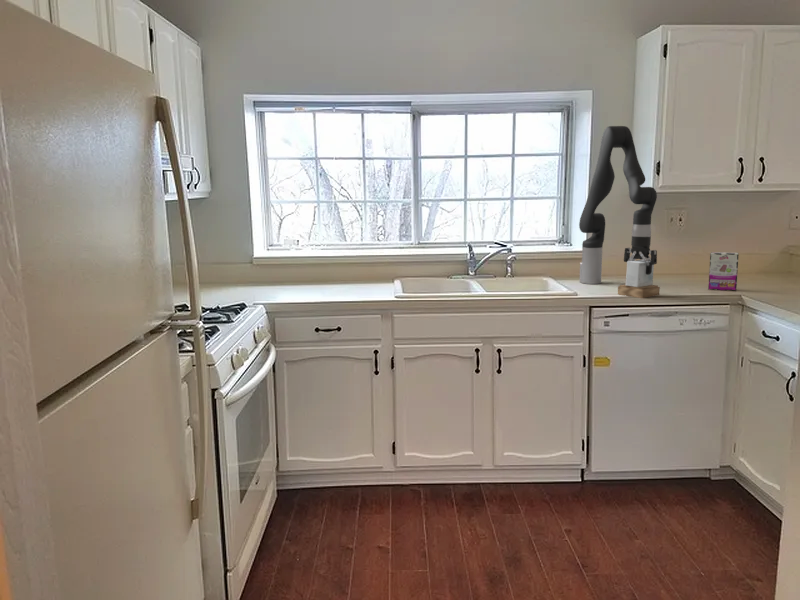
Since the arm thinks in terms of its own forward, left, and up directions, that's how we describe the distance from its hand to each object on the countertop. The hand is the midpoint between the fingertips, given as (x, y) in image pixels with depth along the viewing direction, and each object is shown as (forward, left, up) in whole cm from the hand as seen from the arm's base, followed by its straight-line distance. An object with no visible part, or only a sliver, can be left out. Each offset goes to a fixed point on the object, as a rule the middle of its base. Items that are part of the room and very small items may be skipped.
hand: (639, 273), depth 268 cm
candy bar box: (+16, +38, -9) cm, 42 cm away
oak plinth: (0, 0, -9) cm, 9 cm away
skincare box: (0, 0, -5) cm, 5 cm away
